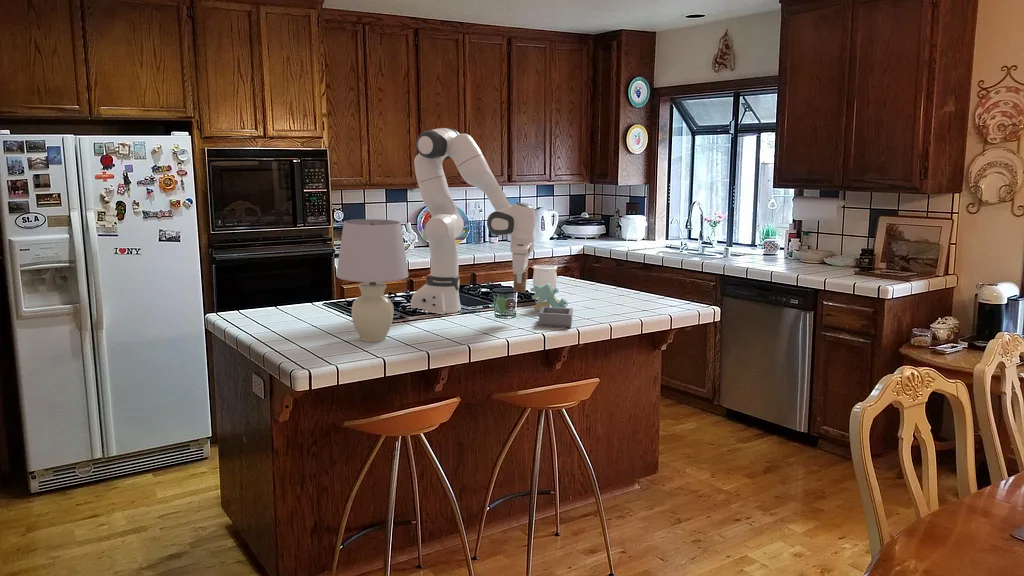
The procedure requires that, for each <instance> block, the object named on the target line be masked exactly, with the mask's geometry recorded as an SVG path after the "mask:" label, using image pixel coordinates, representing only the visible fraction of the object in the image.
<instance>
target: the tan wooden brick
mask: <svg viewBox="0 0 1024 576" xmlns="http://www.w3.org/2000/svg"><path fill="white" fill-rule="evenodd" d="M527 272H528V271H527V270H525V271H524V272H523V274H522V282H521V283H517V274H514V273H513V288H512V289H513V291H512V292H514V293H526V291H527V289H526V288H527V276H528V275H527V274H528V273H527Z"/></svg>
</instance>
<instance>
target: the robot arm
mask: <svg viewBox="0 0 1024 576" xmlns="http://www.w3.org/2000/svg"><path fill="white" fill-rule="evenodd" d="M415 147H416V150H417V153H418V154H417V155H416V156H415V158H414V162H413V163H414V172H415V176H416V177H415V178H416V180H417V185H418V189H419V191H420V196H421V199H422V201H423V204H424V205H425V206H426V209H427V210H428V211H429V214H430V216H431V217H430V218H429V220H428V221H427V222H426V224H425V225H424V226H425V227H424V232H425V235H426V237H427V241H428V242H427V243H428V247H429V252H430V273H429V274H427V275H426V276H425V278H424V279H425V284H424V285H423V286H421V287H420V288H418V290H416V291H415V292H413V294H412V296H411V301H410V303H409V304H408V305H411V306H410V307H411V308H418V309H423V311H428V312H432V313H438V314H441V315H445V314H446V313H447V314H453V313H454V314H455V313H459V312H461V311H462V310H461V308H462V305H461V301H460V300H461V299H460V291H459V289H460V284H461V282H460V280H461V279H460V275H459V253H458V251H457V247H456V245H457V244H456V238H458V237H459V236H460V235H461V234H462V232H463V230H464V228H465V227H464V226H465V223H464V220H463V218H462V216H461V215H460V213H459V211H458V208H457V206H456V204H455V202H454V200H453V197H452V195H451V192H450V189H449V185H448V181H447V178H446V175H445V171H444V169H443V168H444V167H443V163H444V160H446V161H447V160H449V159H450V158H451V159H452V161H453V163H454V165H455V166H456V169H457V170H458V172H459V175H460V176H461V177H462V178H463V180H464V182H466V183H467V184H468V185H470V186H471V187H472V186H473V187H475V188H478V189H479V190H480V191H481V192H483V193H484V194H485V195H486V197H487V199H488V201H489V202H490V204H491V205H492V207H493V209H494V210H495V211H493V212H490V214H489V215H488V217H487V220H486V226H487V229H488V231H489V232H490V233H491V234H492V235H496V236H498V237H499V236H501V237H502V236H506V235H509V236H510V243H509V244H510V247H509V250H510V253H511V254H512V257H511V258H512V273H513V275H514V274H517V283H521V282H522V274H523V272H524V271H526V269H527V267H528V265H529V256H530V255H531V253H532V252H534V250H535V249H534V245H535V237H534V236H535V235H534V234H535V233H534V232H535V228H536V211H535V207H533V205H531V204H529V203H525V202H519V201H517V202H515V203H514V204H511V202H510V201H509V198H508V197H507V196H506V193H505V192H504V191H503V189H502V187H501V185H500V184H499V182H498V181H497V179H496V178H495V175H494V174H493V172H492V170H491V169H490V168H491V167H490V166H489V164H488V162H487V160H486V158H485V156H484V155H483V153H482V150H481V148H480V147H479V146H478V144H477V143H476V141H475V140H474V138H473V137H472V136H471V135H470V134H468V133H460V132H459V131H458V130H456V129H455V128H451V127H445V128H444V127H440V128H439V127H438V128H435V129H434V128H433V129H429V130H425V131H422V132H421V133H420V134H419V135H418V136H417V138H416V141H415ZM424 309H425V310H424ZM460 310H461V311H460ZM458 311H459V312H458ZM438 314H437V315H438Z"/></svg>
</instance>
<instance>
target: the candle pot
mask: <svg viewBox="0 0 1024 576" xmlns="http://www.w3.org/2000/svg"><path fill="white" fill-rule="evenodd" d="M573 313H574V308H572V307H566V308H557V307H551V306H550V307H542V308H541V310H540V311H539V314H538V327H542V326H556V327H555V328H560V327H571V328H572V325H573V316H574V314H573Z"/></svg>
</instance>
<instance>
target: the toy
mask: <svg viewBox="0 0 1024 576" xmlns="http://www.w3.org/2000/svg"><path fill="white" fill-rule="evenodd" d="M530 292H531V293H532V292H533V293H534V292H536V295H535V294H533V295H531V299H532V300H534V301H535V304H534V305H533V309H534V310H536V312H540V310H541V308H542V307H557V308H567V307H568V305H569V304H570V302H569V301H568V300H567V299H566V298H564V297H562V298H560V300H559V299H558V298H557V297H556V296H555V294H558V293H559V292H560V290H559V289H558V287H557V286H556V288H555V289H553V287H552V285H551V284H550V282H549V283H547V284H545V285H543V286H538V285H534V287H531V288H530ZM539 296H540V298H539V299H538V300H537V301H536V300H535V298H537V297H539ZM544 300H547V301H545V302H541V301H544Z"/></svg>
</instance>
